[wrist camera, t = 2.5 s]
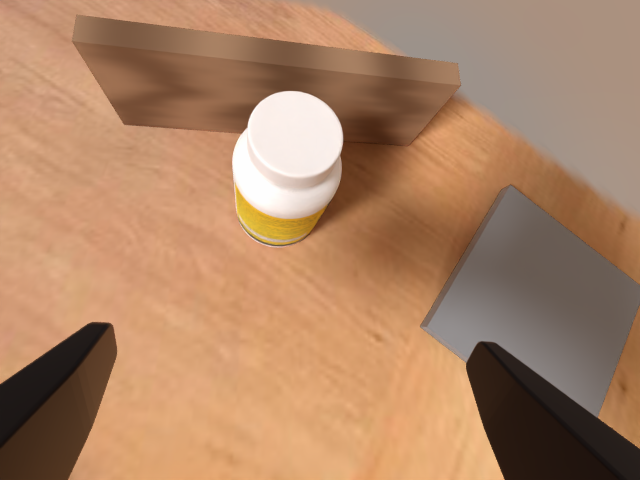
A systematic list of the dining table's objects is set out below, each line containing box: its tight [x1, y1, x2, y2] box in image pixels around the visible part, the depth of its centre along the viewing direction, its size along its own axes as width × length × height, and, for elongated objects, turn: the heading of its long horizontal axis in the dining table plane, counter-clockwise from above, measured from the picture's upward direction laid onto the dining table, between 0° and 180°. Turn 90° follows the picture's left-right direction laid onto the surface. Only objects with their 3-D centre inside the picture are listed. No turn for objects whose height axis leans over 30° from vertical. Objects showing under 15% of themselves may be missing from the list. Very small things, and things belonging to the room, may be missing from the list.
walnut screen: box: [72, 15, 461, 146], centre depth 22 cm, size 20×2×7 cm, turn 91°
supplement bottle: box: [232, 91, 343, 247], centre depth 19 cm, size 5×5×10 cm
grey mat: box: [420, 185, 640, 418], centre depth 25 cm, size 13×13×1 cm
